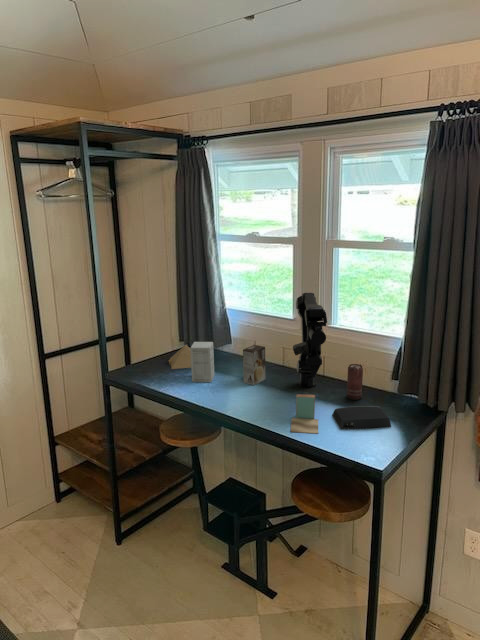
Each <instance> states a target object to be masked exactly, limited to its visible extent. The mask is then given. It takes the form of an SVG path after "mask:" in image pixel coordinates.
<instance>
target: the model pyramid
mask: <svg viewBox="0 0 480 640" xmlns="http://www.w3.org/2000/svg"><path fill="white" fill-rule="evenodd" d="M190 348H191V347H189V346H188V345H187V344H184V345H183V346H182V347H181V348H180V349H179V350H178V351H177V352H176V353H174V354H173V355H172V356H171V357H170V358H169V359H168V365H170V368H171V370H176V369H185V368H186V369H191V349H190Z"/></svg>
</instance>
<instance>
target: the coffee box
mask: <svg viewBox="0 0 480 640" xmlns="http://www.w3.org/2000/svg"><path fill="white" fill-rule="evenodd" d="M242 360H243V361H242V362H243V363H242V365H243V366H242V367H243V368H242V370H243V375H242V377H243V383H244V384H249V385H252V386H256V385H258V384H260V383H261V382H263V381H265V380H266V346H263V345H256V344H253V345H250V346H247V347H245V348H243V349H242Z"/></svg>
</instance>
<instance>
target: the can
mask: <svg viewBox="0 0 480 640" xmlns="http://www.w3.org/2000/svg"><path fill="white" fill-rule="evenodd" d="M363 374H364V368H363V365H361V364H358V363H351V364H349V365H348V367H347V378H346V379H347V380H346V381H347V382H346V397H347V398H348V399H349V400H353V401H356V400H360V399H361V398H362V394H363V376H364V375H363Z"/></svg>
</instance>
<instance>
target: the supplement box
mask: <svg viewBox="0 0 480 640" xmlns="http://www.w3.org/2000/svg"><path fill="white" fill-rule="evenodd" d="M189 348H190V349H191V368H190V369H191V382H192V383H212V382H213V380H214V378H215V362H214V361H215V357H214V353H215V352H214V342H213V341H193V343H192V344H191V346H190V347H189Z"/></svg>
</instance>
